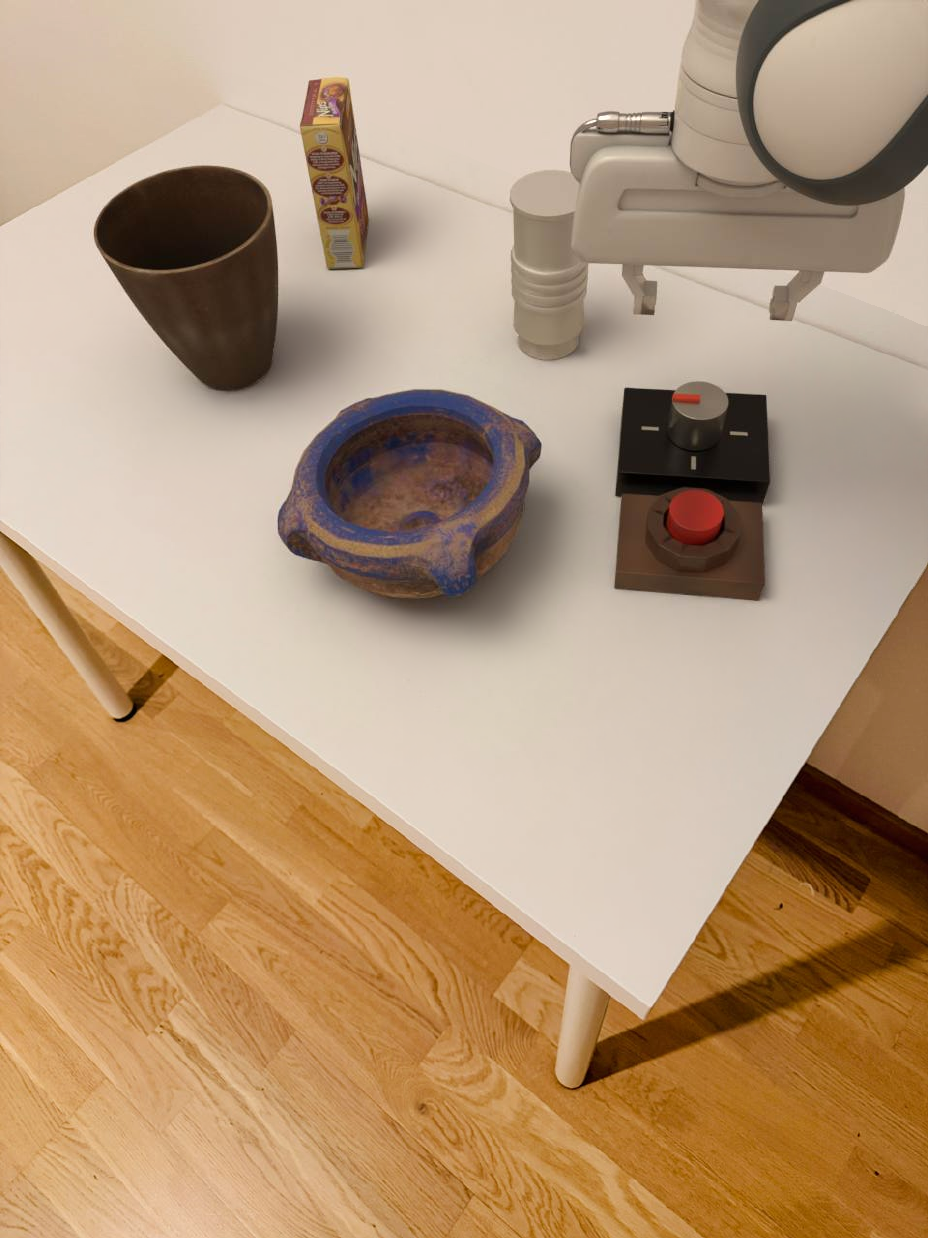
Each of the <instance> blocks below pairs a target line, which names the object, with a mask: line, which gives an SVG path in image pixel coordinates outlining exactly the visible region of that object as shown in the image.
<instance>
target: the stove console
mask: <svg viewBox="0 0 928 1238" xmlns="http://www.w3.org/2000/svg"><path fill="white" fill-rule="evenodd" d="M675 391H676V389H662V388H661V389H659V388H640V387H624V388H623V397H622V406H621V417H620V418H621V419H620V430H619V441H618V442H619V443H618V453H617V456H618V457H617V465H616V467H617V469H616V480H615V491H614V496H615V497H620V498H621V497H622V493H625V494H640V495H654V496H661V495H662V494H665V493H668V492H671V491H673V490H676V489H679V488H683V487H688V488H703V489H708V490H710V491H712V492H714V493H716V494H718V495H720V496H722V497H724V498H727V500H729V501H743V502H758V503H762V507H763V506H764V503H765V500H766V496H767V494H768V492H769V491H768V490H769V487H770V484H771V469H770V446H769V445H770V444H769V443H770V442H769V422H768V421H769V420H768V419H769V418H768V400H767V399H768V396H767V394H761V393H760V394H758V393H757V394H756V393H738V392H725V393H726V395H727V397H728V408H727V412H726V416H725V421H724V425H723V429H722V434H721V437H720V440H719V441H718V442H717V443H716V444H715V445H714V446H713V447H711V448H709V449H706V450H701V451H692V450H686V449H683V448H681V447H679V446H677V445H675V444H674V443H673V442H672V441H671V440H670V438H669V436H668V433H667V428H668V421H669V415H670V409H671V403H672V397H673V394H674V392H675Z"/></svg>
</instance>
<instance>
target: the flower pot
mask: <svg viewBox="0 0 928 1238" xmlns="http://www.w3.org/2000/svg"><path fill="white" fill-rule="evenodd" d="M276 232H277V231H276V223H275V215H274V208H273V200H272V196H271V194H270V190H269V189H268V188H267V187H266V186H265V184H264V183H263V182H262V181H261V180H260V179H258V178H256V177H255V176H253V175H252V174H250V173H248V172H245V171H242V170H240V169H237V168H233V167H228V166H222V165H209V164H207V165H189V166H182V167H178V168H172V169H168V170H165V171H161V172H158V173H155V174H152V175H149V176H147V177H145V178H143V179H140V180H138V181H136V182H134V183H133V184H130V185H129V186H127V187H126V188H124V189H123V190H121V191H120V192H118V193H117V194H116V195H114V196H113V197H112V198H111V199H110V200H109V201H108V202H107V203H106V204H105V205H104V206H103V208H102V209H101V210H100V212H99V214H98V216H97V217H96V220H95V223H94V225H93V241H94V244H95V246H96V248H97V250H98V251H99V253H100V255H101V256H102V258H103V259H104V261H105V263H106V264H107V266H108V267H109V269H110V271H111V272H112V273H113V275H114V277H115V279H116V280H117V282H118V283H119V285H120V286H121V288H122V289H123V292H125V294H126V295H127V298H129V300H130V301H131V302H132V304H133V305H134V306H135V309H137V311H138V313H140V315H141V316H142V317H143V319H144V321H146V323H147V324H148V325H149V327H150V328H151V329H152V330H153V332H154V333H155V334H156V335H157V336H158V338H159V339H160V340H161V341H162V342H163V343H164V345H165V346H166V347H167V349H169V350H170V351H171V352H172V354H173V355H174V356H175V357H176V358H177V359H178V361H180V362H181V363H182V364H183V365H184V366H185V367H186V368H187V369H188V370H189V372H191V373H192V375H194V376H195V378H197V379H198V380H199V381H200V382H201V383H202V384H203V385H205V386H206V387H208V388H210V389H214V390H216V391H217V390H218V391H225V392H227V391H237V390H241V389H242V390H243V389H245V388H247V387H250V386H253V385H254V384H256V383H257V382H259V381H260V380H262V379H263V378H264V376H266V374H267V373H268V372H269V370H270V368H271V367H272V364H273V358H274V351H275V345H276V339H277V330H278V329H277V328H278V315H279V256H278V255H279V254H278V242H277V233H276Z"/></svg>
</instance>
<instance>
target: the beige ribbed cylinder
mask: <svg viewBox="0 0 928 1238" xmlns="http://www.w3.org/2000/svg"><path fill="white" fill-rule="evenodd" d="M578 188H579V183H578V182H577V180H576V179H575V178H574V176H573V175H572V172H571V171H567V170H561V169H544V170H537V171H534V172H532V173H531V172H530V173H529V174H526V175H524V176H523V177H521V178H519V179H518V180H516V182H514V184H512V185H511V188H510V190H509V202H510V205H511V207H512V211H513V214H512V215H513V246H512V248H511V250H510V262H511V263H510V271H511V279H510V280H511V281H510V282H511V283H510V284H511V296H512V299H513V301H514V305H513V319H512V321H513V322H512V326H513V329H514V331H515V332H516V334H517V335H518V337H517V344H518V346H519V348H520V349H521V352H523V353H524V354H525V355H527V356H529V357H531V358H534V359H538V360H543V361H553V360H558V359H563V358H564V357H567V356H569V355H570V354H571V353H573V352H574V351H575V350H576V349H577V348H578V346H579V343H580V335H579V334H580V333H581V332H582V331H583V329H584V327H585V299H586V296H587V293H588V280H589V263H584V262H582V261H580V259H579V258H578V257H577V256H576V254H575V253H574V252H573V251H572V249H571V240H572V230H573V220H574V213H575V206H576V200H577V194H578Z"/></svg>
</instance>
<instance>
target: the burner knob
mask: <svg viewBox="0 0 928 1238" xmlns="http://www.w3.org/2000/svg"><path fill="white" fill-rule="evenodd" d="M675 390H676V391H675V392H674V394H673V397H672V403H671V409H670V415H669V421H668V428H667V433H668V436H669V438H670V440H671V441H672V442H673V443H674V444H675V445H677V446H679V447H681V448H683V449H686V450H692V451H701V450H706V449H709V448H711V447H713V446H714V445H715V444H716V443H717V442H718V441H719V440H720V437H721V434H722V429H723V425H724V421H725V416H726V412H727V408H728V397H727V395H726V393H727V392H725V391H724V390H723V389H722V388H721V387H719V385H716V384H714V383H712V382H708V381H698V380H697V381H690V382H686V383H683V384H681V385H680V386H678V387H677V388H676V389H675Z"/></svg>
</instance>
